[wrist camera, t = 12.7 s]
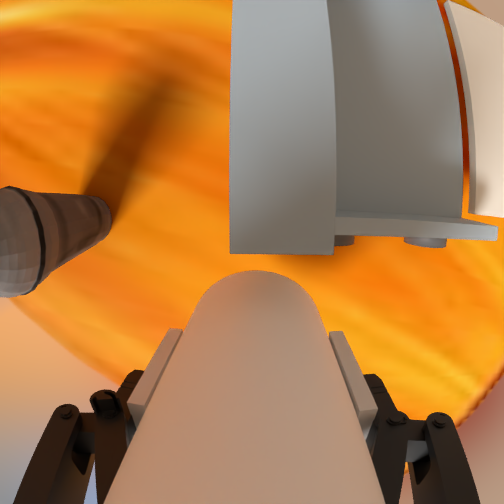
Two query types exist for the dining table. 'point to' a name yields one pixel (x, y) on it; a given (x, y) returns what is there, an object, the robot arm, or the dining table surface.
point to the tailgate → (482, 104)
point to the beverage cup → (45, 234)
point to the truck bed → (343, 127)
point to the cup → (250, 409)
